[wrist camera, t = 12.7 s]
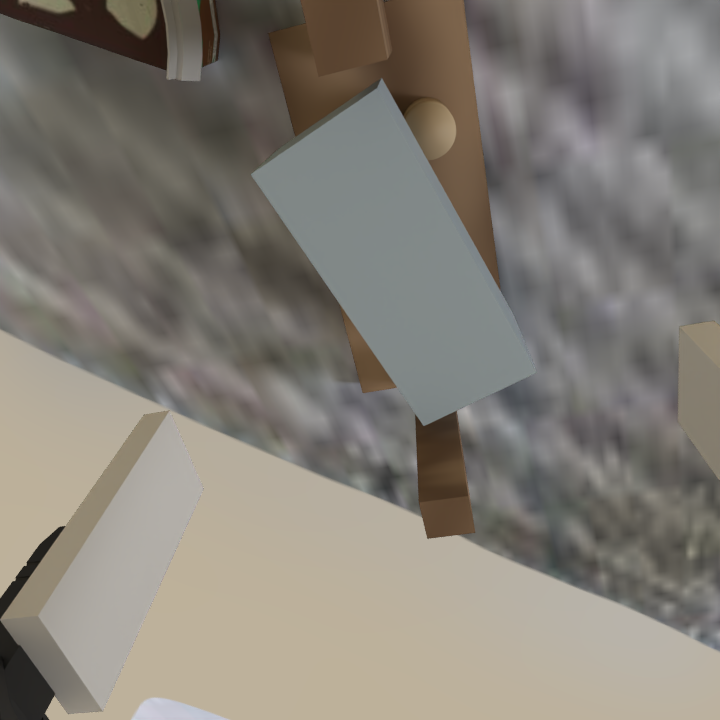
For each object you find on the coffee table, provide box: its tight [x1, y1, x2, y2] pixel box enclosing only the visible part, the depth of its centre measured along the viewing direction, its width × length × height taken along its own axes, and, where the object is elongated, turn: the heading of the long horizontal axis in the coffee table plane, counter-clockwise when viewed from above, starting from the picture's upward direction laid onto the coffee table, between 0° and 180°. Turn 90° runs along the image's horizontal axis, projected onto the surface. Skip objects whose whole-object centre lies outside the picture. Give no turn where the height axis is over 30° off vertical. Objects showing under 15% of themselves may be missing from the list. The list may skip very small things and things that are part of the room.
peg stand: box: [268, 0, 501, 539], centre depth 27 cm, size 9×20×14 cm, turn 13°
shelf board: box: [251, 78, 537, 426], centre depth 26 cm, size 6×13×6 cm, turn 32°
